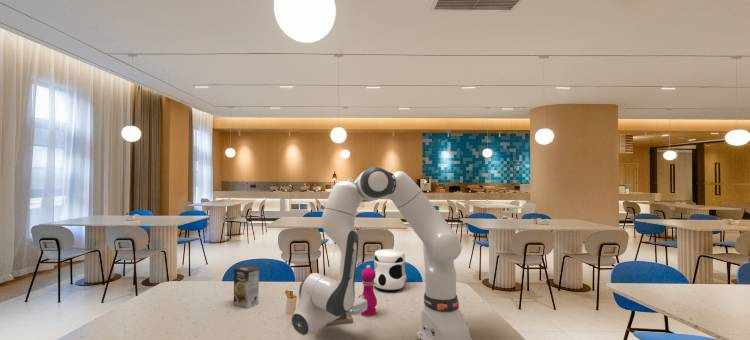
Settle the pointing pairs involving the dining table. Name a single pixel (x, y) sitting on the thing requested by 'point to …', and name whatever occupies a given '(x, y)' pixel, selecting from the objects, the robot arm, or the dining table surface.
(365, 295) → the pepper mill
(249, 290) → the coffee box
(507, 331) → the dining table surface
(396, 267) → the milk container
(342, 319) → the caddy board
